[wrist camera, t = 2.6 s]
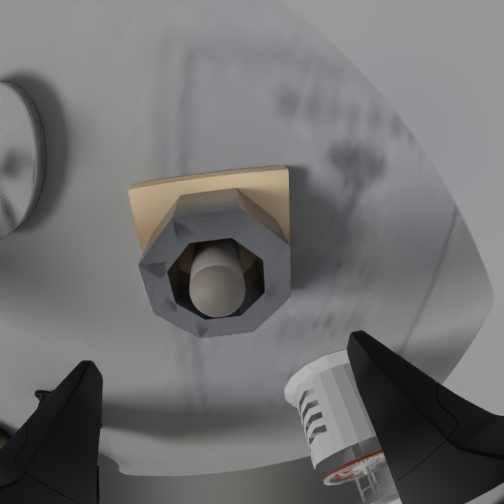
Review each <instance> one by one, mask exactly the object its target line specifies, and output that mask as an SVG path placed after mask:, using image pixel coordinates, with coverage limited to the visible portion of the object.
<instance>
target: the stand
mask: <svg viewBox="0 0 504 504" xmlns="http://www.w3.org/2000/svg"><path fill="white" fill-rule="evenodd" d="M231 188H237V189H238V190H239V191H240V192H242V193H243V194H244V195H246V196H247V197H248V198H249V199H251V200H252V201H253V202H255V203H256V204H257V205H258V206H260V207H261V208H262V209H263V210H265V211H266V212H267V213H268V214H270V215H271V216H272V217H273V218H275V219H276V220H277V222H278V224H279V225H280V227H281V229H282V231H283V233H284V235H285V237H286V239H287V241H288V243H289V245H290V206H289V172H288V169H287V168H286V167H285V166H284V165H283V166H270V167H258V168H247V169H237V170H228V171H219V172H211V173H203V174H196V175H188V176H181V177H175V178H168V179H162V180H156V181H150V182H144V183H139V184H133V185H132V186H131V187H130V188H129V189H128V193H129V198H130V203H131V207H132V212H133V216H134V220H135V224H136V228H137V232H138V236H139V240H140V244H141V248H142V252H143V253H144V250H145V248H146V246H147V243H148V241H149V239H150V237H151V235H152V233H153V232H154V230H155V229H156V228H157V226H158V225H159V223H160V222H161V221H162V219H163V218H164V216H165V215H166V214H167V212H168V211H169V210H170V208H171V207H172V206H173V204H174V203H175V202H176V200H177V199H178V198H179V196H180V195H184V194H191V193H199V192H206V191H214V190H223V189H231ZM178 259H179V264H180V268H181V270H183V271H184V272H186V273H188V274H189V275H191V277H190V297H191V300H192V302H193V304H194V305H195V307H196V308H197V309H198V310H199V311H200V312H202V313H204V314H205V315H208V316H211V317H224V316H228V315H230V314H232V313H233V312H235V311H236V310H237V309H238V308H239V307H240V305H241V304H242V302H243V300H244V297H245V282H244V276H243V274H244V273H245V272H246V271H247V270H248V268H249V267H250V266H251V265H252V264H253V263H254V262H255V261H256V255H255V254H254V253H252V252H251V251H250V250H248V249H247V248H245V247H244V246H243V245H241V244H240V243H238V242H237V241H235V240H234V239H233V238H226V239H218V240H209V241H201V242H193V243H189V244H188V245H187V247H186V248H185V249H184V250H183V252H182V253H181V254H180V256H179V257H178ZM288 300H290V298H289V299H288Z"/></svg>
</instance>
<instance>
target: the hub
mask: <svg viewBox="0 0 504 504" xmlns="http://www.w3.org/2000/svg"><path fill="white" fill-rule="evenodd" d="M45 160H46V154H45V139H44V133H43V128H42V124H41V120H40V117H39V114H38V112H37V110H36V107H35V105H34V104H33V102H32V100H31V99H30V97H29V96H28V95H27V94H26V92H24V91H23V90H22V89H21V88H20V87H18V86H16V85H14V84H11V83H8V82H0V239H1V238H3V237H5V236H7V235H8V234H9V233H11V232H12V231H13V230H14V229H15V228H17V227H18V226H19V225H20V224H21V223H22V222H24V221H25V220H26V219H27V217H28V216H29V215H30V214H31V212H32V210H33V209H34V207H35V205H36V203H37V200H38V198H39V195H40V192H41V189H42V184H43V180H44V173H45Z"/></svg>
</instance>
